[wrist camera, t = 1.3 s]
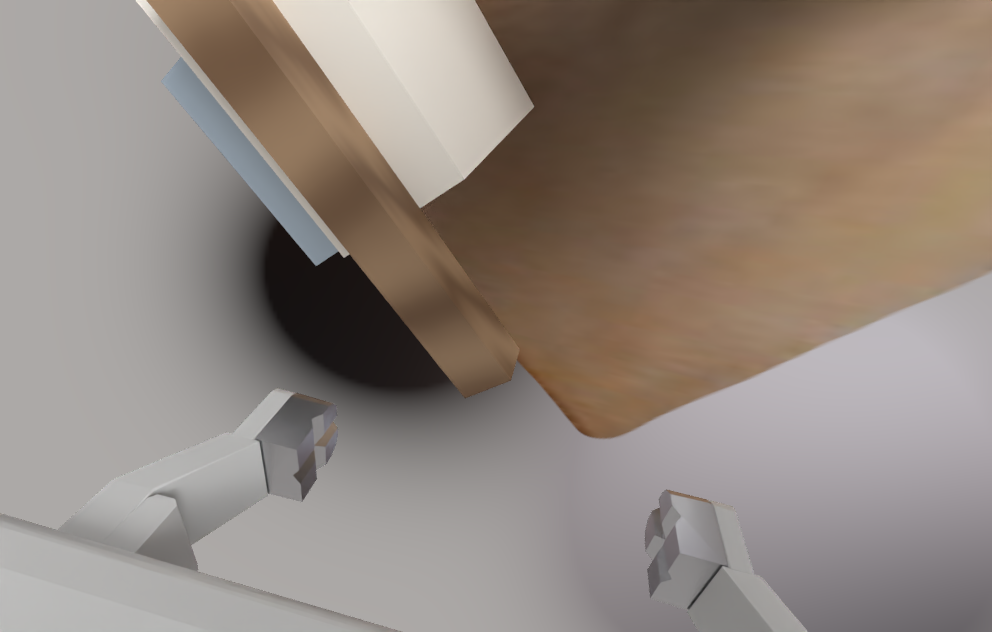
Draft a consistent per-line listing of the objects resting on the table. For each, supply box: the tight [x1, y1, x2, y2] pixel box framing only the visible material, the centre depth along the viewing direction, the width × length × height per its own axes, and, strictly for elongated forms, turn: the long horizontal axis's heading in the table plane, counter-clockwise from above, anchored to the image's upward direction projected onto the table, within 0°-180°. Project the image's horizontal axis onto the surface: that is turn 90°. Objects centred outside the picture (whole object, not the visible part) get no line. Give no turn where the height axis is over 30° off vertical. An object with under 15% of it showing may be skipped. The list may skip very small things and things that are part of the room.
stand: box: [136, 0, 534, 266], centre depth 35 cm, size 16×18×26 cm
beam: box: [147, 0, 520, 398], centre depth 23 cm, size 24×3×3 cm, turn 34°
